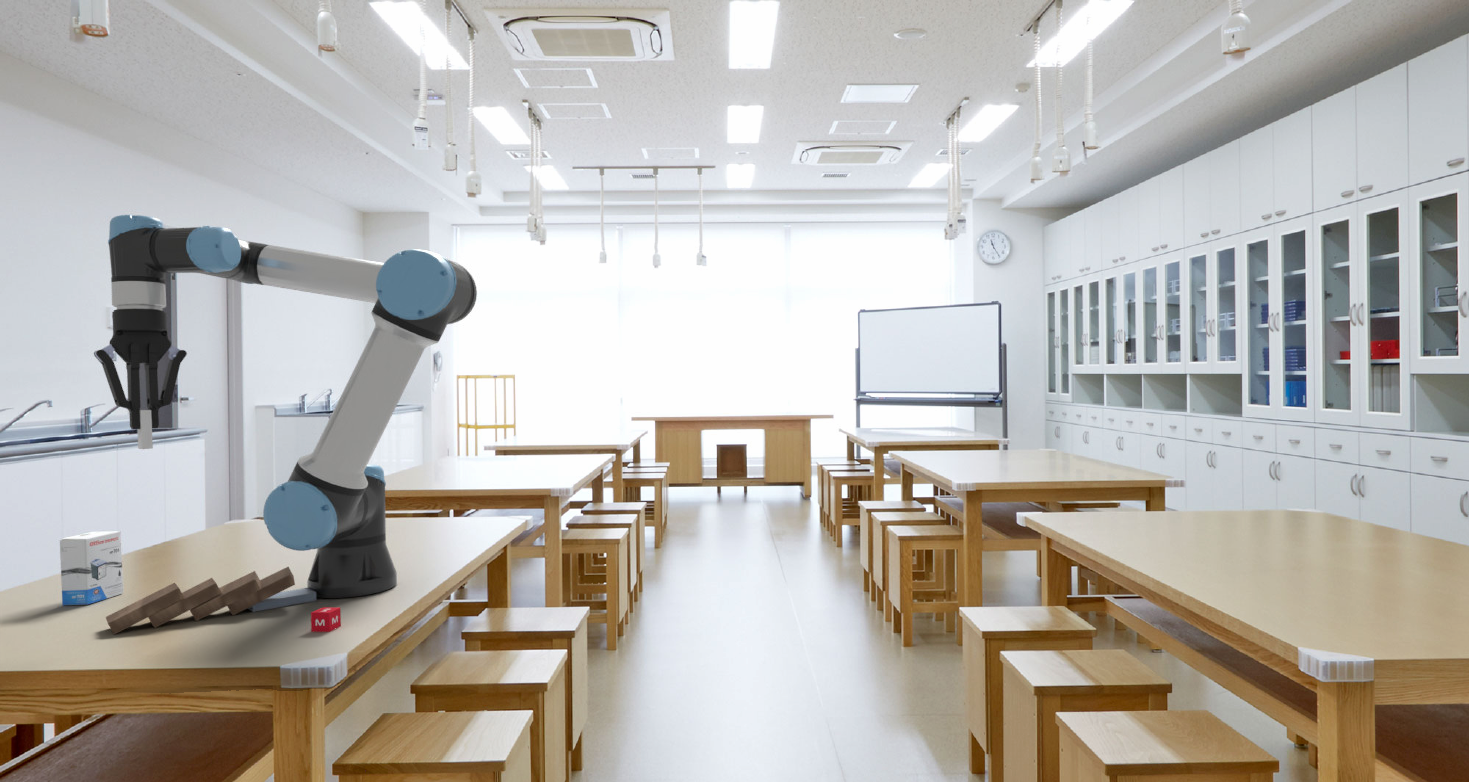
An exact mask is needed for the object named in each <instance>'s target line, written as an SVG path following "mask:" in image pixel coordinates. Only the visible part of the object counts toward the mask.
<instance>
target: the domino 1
mask: <svg viewBox="0 0 1469 782" xmlns="http://www.w3.org/2000/svg"><path fill="white" fill-rule="evenodd" d="M219 588H220V587H219V586H218V584H217V583H216V581H215V580H214V578H213V577H210V578H209V579H207V580H205V581H202V582H201V583H199V584H196V585H195V586H192V587H191V588H189V589H187V590H185V591H183V592H182V594H183V596H184V598H185V599H183V600H181V601H179V602H177V603H175V604H173V605H171V606H169V607H167V608H165V609H163V610H161V611H159V612H157V613H155V614H153V615H151V616H149V617H148V620H149V621H150V624H151V625H152V626H153V627H154V629H156V628H157V627H160V626H162V625H164V624H167V622H169V621H171V620H173V619H176V618H177V617H179V616H181V615H184V614H185V613H187V612H190V610H191V609H193V608H195V607H196V606H198V605H200V604H202V603H204V602H206V601H208V600H210V599H212V598H214V597H216V596H218V595H220V594H222V593H221V591H220V589H219Z"/></svg>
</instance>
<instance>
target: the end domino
mask: <svg viewBox="0 0 1469 782" xmlns="http://www.w3.org/2000/svg"><path fill="white" fill-rule="evenodd" d="M182 593H183V592H182V591H181V589H180V587H179V586H178V585H177V583H176V582H173V583H171V584H169V585H167V586H165V587H163V588H161V589H159V590H157V591H155V592H153V593H151V594H149V595H146V596H145V597H143V598H141V599H139V600H137V601H135V602H133V603H131V604H129V605H126V606H125V607H123V608H121V609H119V610H117V611H115V612H113V613H111V614H108V615H107V616H105V620H106V622H107V623H106V624H107V625H108V626H109V627H110V630H111V632H112V633H113V635H116V634H118V633H120V632H123V631H124V630H125V629H128V628H130V627H131V626H134V625H135V624H138V623H140V622H142V621H144V620H145V619H147V618H148V617H149V616H151V615H153V614H155V613H157V612H159V611H161V610H163V609H165V608H167V607H169V606H171V605H173V604H175V603H177V602H179V601H181V600H183V599H185V598H184V596H183V594H182ZM148 619H149V618H148Z"/></svg>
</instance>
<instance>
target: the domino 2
mask: <svg viewBox="0 0 1469 782" xmlns="http://www.w3.org/2000/svg"><path fill="white" fill-rule="evenodd" d="M260 580H261V579H260V578H259V575H258V573H257V572H256V570H253V571H251V572H250V573H247V574H246V575H244V576H241V577H239V578H237V579H235V580H233V581H230V582H228V583H227V584H225V585H223V586H221V587H219V589H220V591H221V593H222V594H220V595H218V596H216V597H214V598H212V599H210V600H208V601H206V602H204V603H202V604H200V605H198V606H196V607H195V608H193V609H191V610H189V612H190V613H191V615H192V616H193V619H194V620H195V621H196V622H197V621H200V620H201V619H203V618H205V617H208V616H209V615H212V614H214V613H215V612H218V611H220V610H221V609H224V608H226V607H228V605H230V604H232V603H234V602H236V601H238V600H240V599H242V598H244V597H246V596H248V595H250V594H252V593H254V592H256V591H258V590H260V589H261V583H260Z"/></svg>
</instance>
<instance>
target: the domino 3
mask: <svg viewBox="0 0 1469 782" xmlns="http://www.w3.org/2000/svg"><path fill="white" fill-rule="evenodd" d="M260 583H261V589H260V590H258V591H256V592H254V593H252V594H250V595H248V596H246V597H244V598H242V599H240V600H238V601H236V602H234V603H232V604H230V605H228V606H227V608H228V610H229V611H230V613H231V615H232V616H234V615H237V614H240V612H241V613H242V612H243V611H245V610H247V609H248V608H249V607H251V606H253V605H255V604H257V603H259V602H261V601H263V600H265V599H267V598H269V597H271V596H273V595H275V594H277V593H279V592H284V591H285V590H287V589H290V588H291V587H293V586H295V585H296V583H295V577H294V574H293V572H292V571H291V569H290V567H289V566H287V567H285V568H282V569H280V570H278V571H276V572H274V573H271V574H270V575H268V576H266V577H263V578H262V579H260Z"/></svg>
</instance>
